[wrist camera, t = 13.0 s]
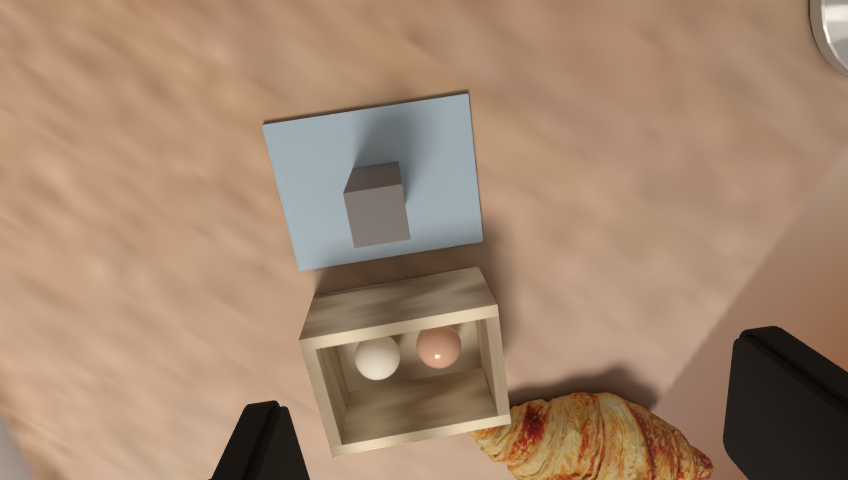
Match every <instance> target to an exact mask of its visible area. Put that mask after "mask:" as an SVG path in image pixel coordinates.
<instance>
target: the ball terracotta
mask: <svg viewBox="0 0 848 480" xmlns="http://www.w3.org/2000/svg"><path fill="white" fill-rule="evenodd" d="M416 348H417V353H418V355H419V357H420V359H421V360H422V361H423V362H424V363H425V364H426V365H428V366H430V367H432V368H438V369H441V368H446V367H448V366H450V365H452V364H453V363H454V362H455V361H456V360H457V359H458V357H459V355H460V352H461V339H460V336H459V334H458V332H457V331H456V330H455V329H454V328H453V327H452V326H450V325H447V326H441V327H436V328H430V329H424V330H421V332H420V333H419V335H418V338H417V342H416Z"/></svg>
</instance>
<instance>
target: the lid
mask: <svg viewBox="0 0 848 480" xmlns="http://www.w3.org/2000/svg"><path fill="white" fill-rule="evenodd" d="M262 128H263V132H264V136H265V140H266V144H267V148H268V152H269V156H270V159H271V163H272V167H273V171H274V175H275V179H276V183H277V187H278V191H279V194H280V198H281V202H282V206H283V210H284V214H285V218H286V222H287V226H288V229H289V233H290V237H291V241H292V245H293V249H294V253H295V257H296V261H297V264H298V268H299V271H305V270H312V269H318V268H324V267H330V266H336V265H343V264H349V263H355V262H361V261H367V260H373V259H380V258H386V257H392V256H398V255H404V254H411V253H417V252H423V251H429V250H435V249H441V248H448V247H454V246H460V245H466V244H472V243H479V242H483V233H482V223H481V213H480V204H479V194H478V184H477V175H476V165H475V155H474V146H473V136H472V126H471V117H470V107H469V97H468V94H460V95H454V96H447V97H440V98H434V99H427V100H421V101H414V102H408V103H401V104H395V105H388V106H381V107H375V108H368V109H362V110H355V111H349V112H342V113H336V114H329V115H322V116H316V117H309V118H303V119H296V120H290V121H283V122H276V123H270V124H263V125H262Z"/></svg>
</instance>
